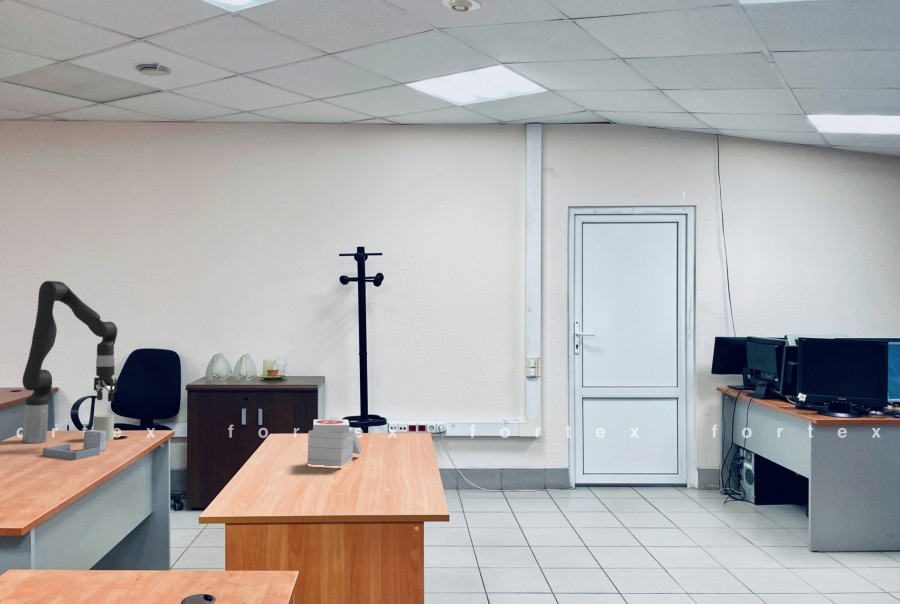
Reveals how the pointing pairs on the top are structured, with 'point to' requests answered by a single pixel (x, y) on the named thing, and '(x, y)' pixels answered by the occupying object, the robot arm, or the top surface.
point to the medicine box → (94, 439)
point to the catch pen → (69, 452)
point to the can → (104, 424)
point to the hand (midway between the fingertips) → (105, 400)
